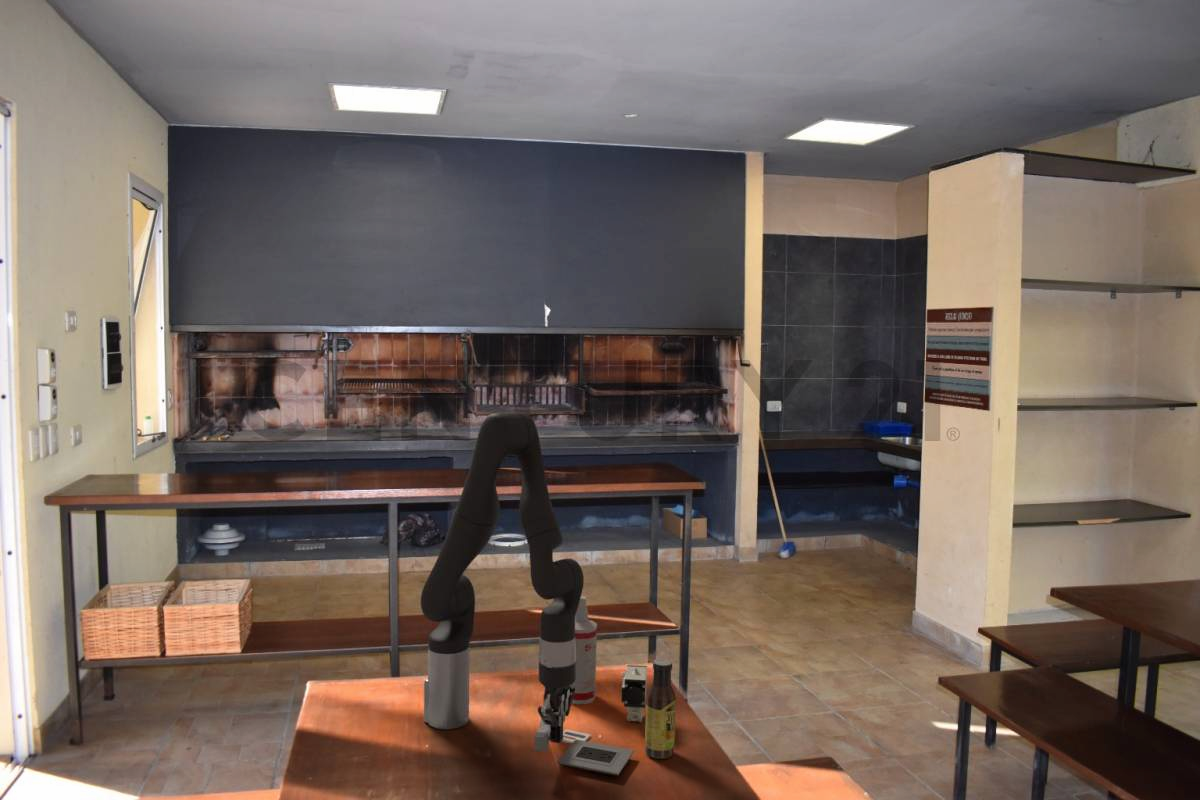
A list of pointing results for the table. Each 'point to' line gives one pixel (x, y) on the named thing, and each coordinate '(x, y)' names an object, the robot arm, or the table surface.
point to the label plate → (574, 736)
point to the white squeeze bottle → (585, 655)
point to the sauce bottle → (660, 712)
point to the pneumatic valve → (634, 691)
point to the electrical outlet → (595, 757)
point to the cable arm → (542, 736)
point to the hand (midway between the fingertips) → (556, 741)
